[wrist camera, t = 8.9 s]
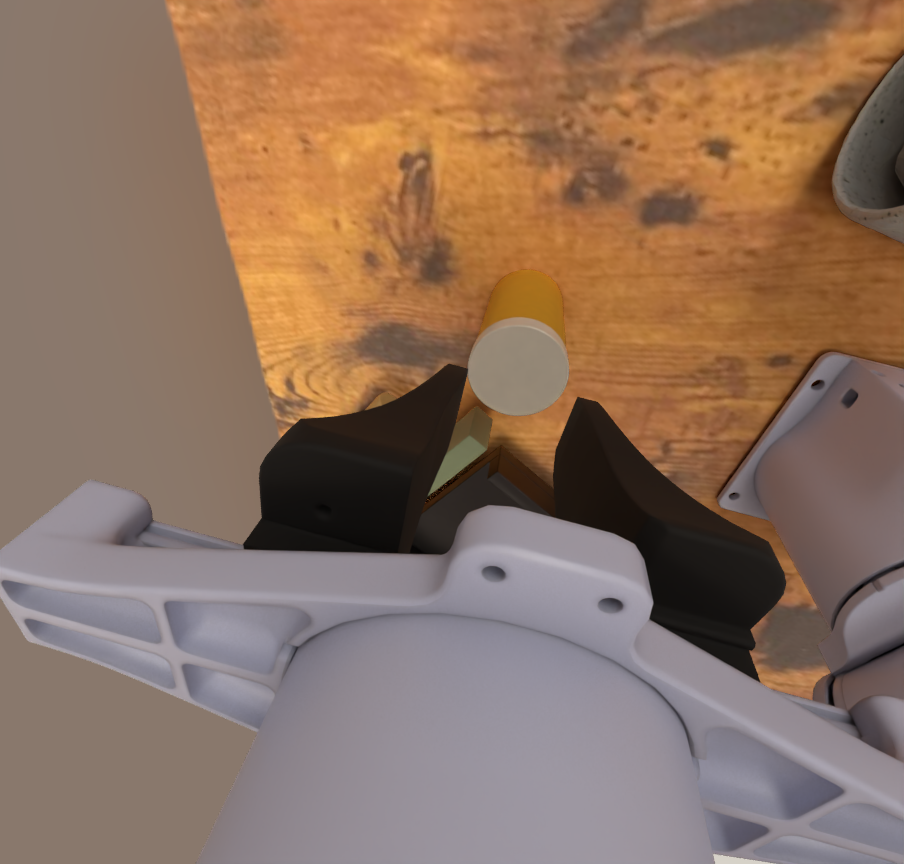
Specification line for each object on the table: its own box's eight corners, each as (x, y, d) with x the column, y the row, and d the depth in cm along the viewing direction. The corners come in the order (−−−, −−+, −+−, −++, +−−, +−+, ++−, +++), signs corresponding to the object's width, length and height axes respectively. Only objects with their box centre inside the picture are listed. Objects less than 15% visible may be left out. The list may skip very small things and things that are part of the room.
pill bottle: (555, 257, 21) (557, 313, 15) (570, 331, 22) (577, 406, 16) (479, 280, 22) (453, 339, 16) (499, 348, 23) (483, 424, 18)
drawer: (303, 470, 29) (282, 500, 27) (415, 351, 23) (400, 377, 21) (496, 609, 33) (492, 645, 31) (631, 538, 28) (638, 577, 25)
